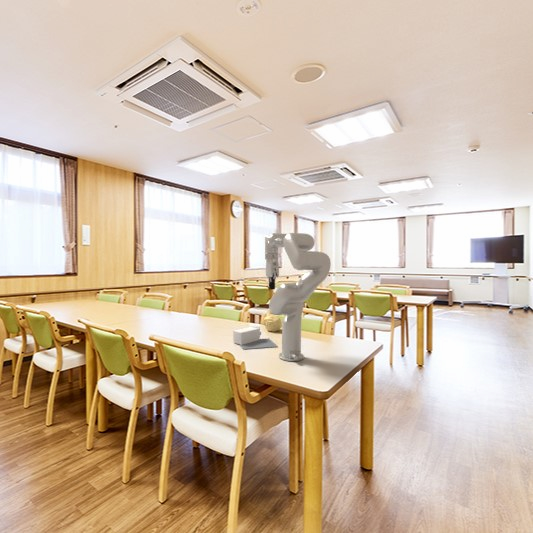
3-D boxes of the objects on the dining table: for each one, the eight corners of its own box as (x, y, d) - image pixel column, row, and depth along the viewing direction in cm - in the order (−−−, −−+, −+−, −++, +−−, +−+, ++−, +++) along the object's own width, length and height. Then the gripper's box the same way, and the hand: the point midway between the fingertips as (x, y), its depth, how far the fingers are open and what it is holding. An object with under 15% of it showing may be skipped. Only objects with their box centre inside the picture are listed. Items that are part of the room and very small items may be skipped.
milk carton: (233, 330, 179) (255, 325, 193) (233, 342, 180) (255, 336, 194) (241, 332, 175) (264, 327, 189) (241, 345, 175) (264, 338, 189)
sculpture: (261, 331, 210) (261, 315, 210) (269, 328, 221) (269, 313, 220) (276, 333, 205) (276, 317, 205) (284, 329, 215) (284, 314, 215)
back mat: (277, 347, 173) (277, 346, 173) (243, 349, 167) (243, 348, 167) (268, 339, 190) (268, 338, 190) (237, 341, 185) (237, 340, 185)
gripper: (282, 256, 168) (283, 290, 167) (273, 257, 182) (273, 288, 182) (270, 256, 165) (270, 290, 165) (261, 257, 179) (261, 288, 179)
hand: (271, 289), depth 173 cm, fingers closed
